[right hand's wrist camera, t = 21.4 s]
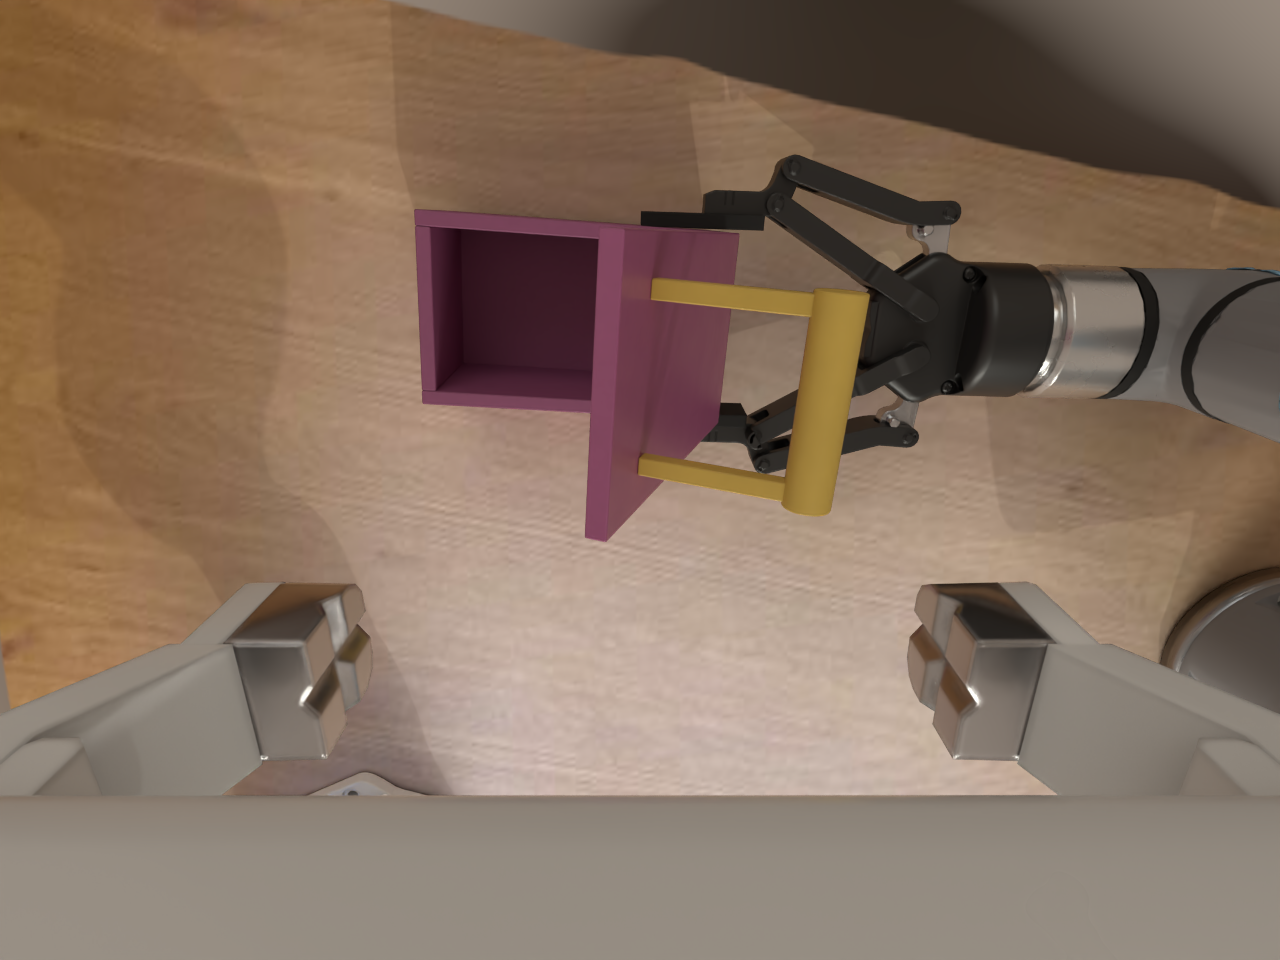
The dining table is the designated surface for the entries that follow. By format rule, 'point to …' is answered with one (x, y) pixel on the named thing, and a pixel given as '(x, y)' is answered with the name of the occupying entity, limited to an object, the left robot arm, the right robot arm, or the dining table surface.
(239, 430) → the dining table surface
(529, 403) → the chest
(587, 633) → the dining table surface
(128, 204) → the dining table surface
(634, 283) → the lid
